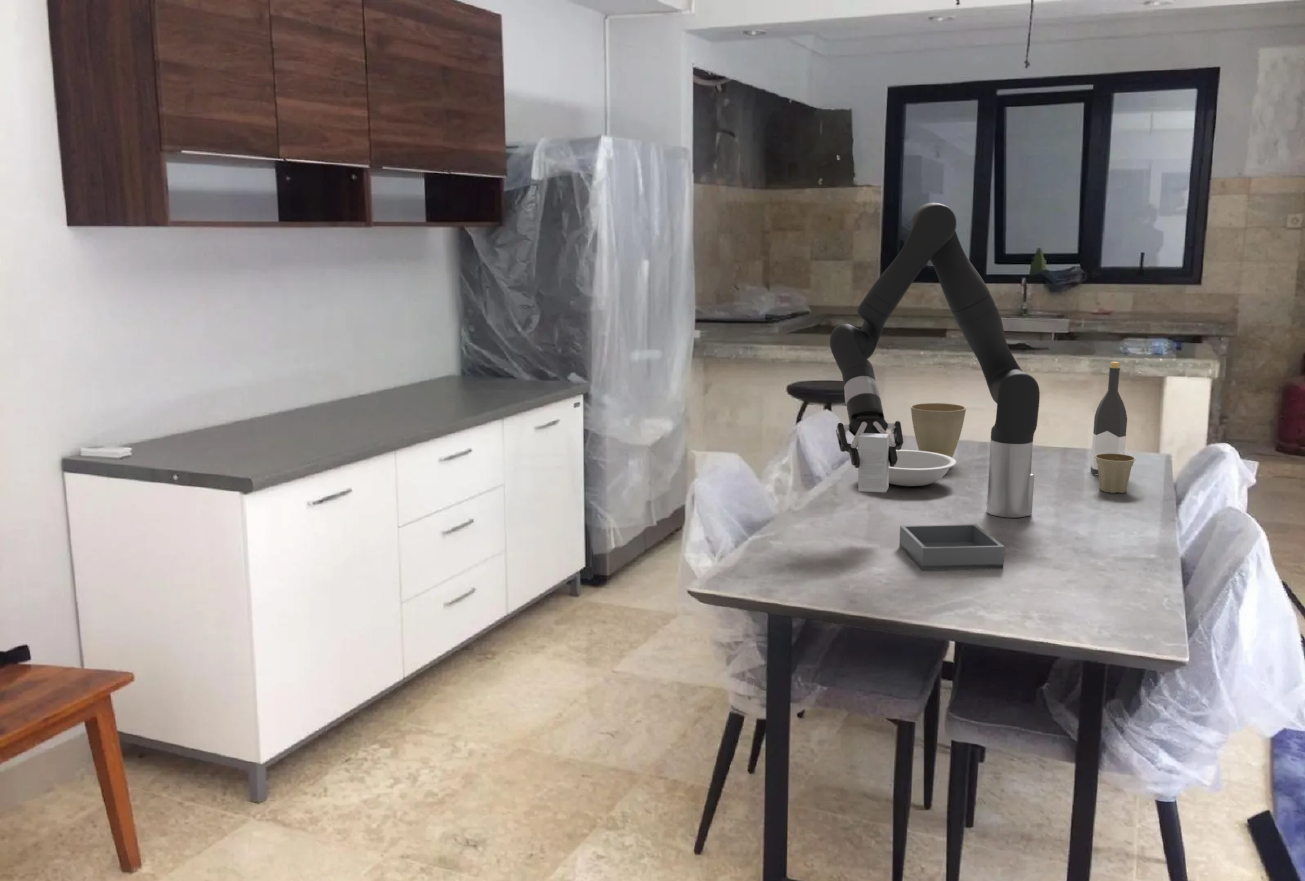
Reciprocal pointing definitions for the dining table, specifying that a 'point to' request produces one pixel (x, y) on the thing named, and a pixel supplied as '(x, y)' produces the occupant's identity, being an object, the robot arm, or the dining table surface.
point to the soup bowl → (919, 467)
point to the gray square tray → (951, 547)
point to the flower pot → (1114, 471)
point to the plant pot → (938, 426)
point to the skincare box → (873, 462)
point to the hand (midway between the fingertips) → (875, 465)
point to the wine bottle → (1109, 421)
